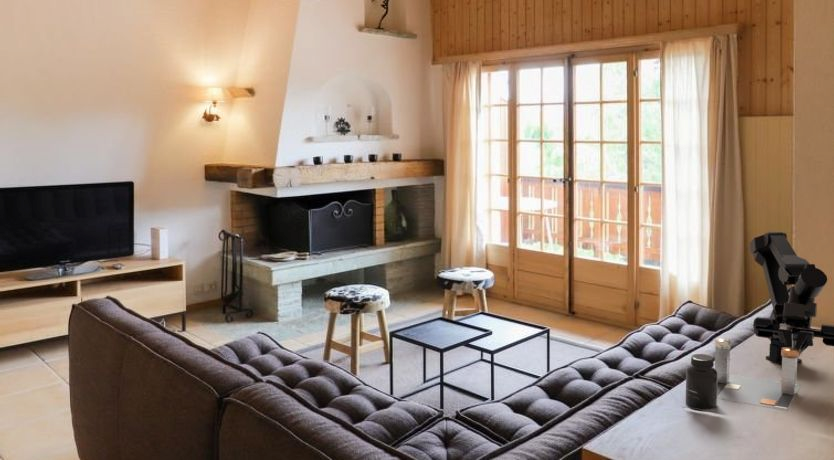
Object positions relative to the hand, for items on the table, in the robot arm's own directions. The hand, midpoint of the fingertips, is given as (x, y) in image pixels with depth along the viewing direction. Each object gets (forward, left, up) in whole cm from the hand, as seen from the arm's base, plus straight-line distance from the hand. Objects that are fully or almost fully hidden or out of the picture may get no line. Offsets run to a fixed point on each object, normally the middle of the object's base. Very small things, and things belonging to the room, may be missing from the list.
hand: (791, 362), depth 169 cm
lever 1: (+11, -11, -7) cm, 17 cm away
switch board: (+8, -4, -8) cm, 12 cm away
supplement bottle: (+24, -2, -8) cm, 26 cm away
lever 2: (+2, +1, -7) cm, 8 cm away
